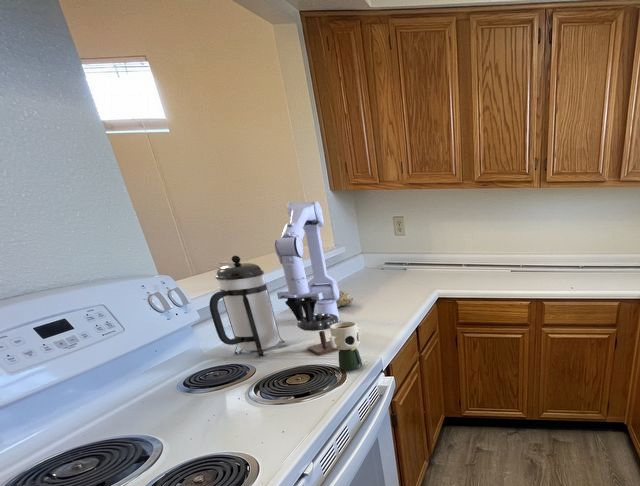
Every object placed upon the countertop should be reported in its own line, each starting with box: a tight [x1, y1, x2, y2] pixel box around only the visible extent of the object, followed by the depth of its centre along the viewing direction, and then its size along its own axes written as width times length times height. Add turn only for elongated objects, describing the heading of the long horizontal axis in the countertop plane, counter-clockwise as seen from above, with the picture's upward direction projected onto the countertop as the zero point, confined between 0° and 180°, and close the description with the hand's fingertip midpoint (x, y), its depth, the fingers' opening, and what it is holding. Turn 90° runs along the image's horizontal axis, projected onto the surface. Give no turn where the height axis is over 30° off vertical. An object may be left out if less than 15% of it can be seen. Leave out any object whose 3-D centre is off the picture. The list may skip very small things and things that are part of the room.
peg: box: [306, 330, 339, 356], centre depth 134 cm, size 8×8×6 cm
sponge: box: [336, 290, 354, 308], centre depth 180 cm, size 13×8×20 cm
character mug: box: [329, 320, 363, 372], centre depth 117 cm, size 11×7×13 cm, turn 157°
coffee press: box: [209, 255, 285, 358], centre depth 129 cm, size 17×16×30 cm
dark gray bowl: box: [297, 313, 339, 332], centre depth 132 cm, size 12×12×3 cm
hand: (305, 321), depth 133 cm, fingers closed on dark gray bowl, 3 cm apart
